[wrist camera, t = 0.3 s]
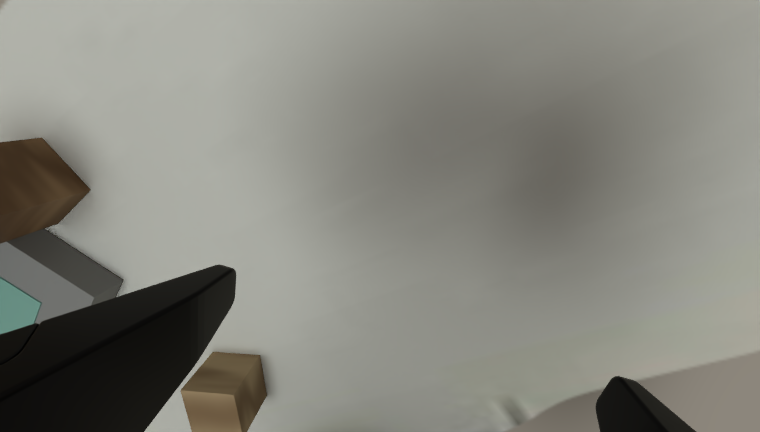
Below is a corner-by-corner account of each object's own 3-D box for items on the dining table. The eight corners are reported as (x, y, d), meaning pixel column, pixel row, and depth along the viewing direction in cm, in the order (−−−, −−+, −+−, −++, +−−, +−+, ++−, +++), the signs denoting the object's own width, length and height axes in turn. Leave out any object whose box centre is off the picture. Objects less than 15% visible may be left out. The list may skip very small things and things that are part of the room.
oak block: (267, 394, 29) (243, 438, 26) (222, 390, 30) (192, 433, 26) (260, 354, 28) (233, 394, 24) (213, 351, 29) (180, 390, 25)
